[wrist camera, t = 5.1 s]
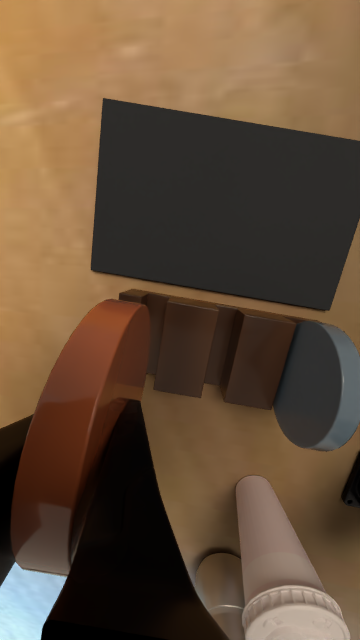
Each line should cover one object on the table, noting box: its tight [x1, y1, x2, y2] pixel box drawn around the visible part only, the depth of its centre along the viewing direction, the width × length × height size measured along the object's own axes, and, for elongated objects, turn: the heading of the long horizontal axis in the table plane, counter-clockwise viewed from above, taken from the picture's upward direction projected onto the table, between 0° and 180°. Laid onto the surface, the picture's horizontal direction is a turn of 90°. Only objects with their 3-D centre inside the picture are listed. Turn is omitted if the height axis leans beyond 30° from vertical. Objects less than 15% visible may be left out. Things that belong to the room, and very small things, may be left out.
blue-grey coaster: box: [273, 321, 360, 452], centre depth 15 cm, size 1×8×8 cm, turn 171°
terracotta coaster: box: [10, 299, 151, 577], centre depth 8 cm, size 1×8×8 cm, turn 171°
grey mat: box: [91, 98, 360, 311], centre depth 17 cm, size 12×20×1 cm, turn 81°
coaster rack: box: [119, 289, 344, 410], centre depth 18 cm, size 16×7×4 cm, turn 81°
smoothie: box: [236, 475, 350, 640], centre depth 16 cm, size 6×6×14 cm
